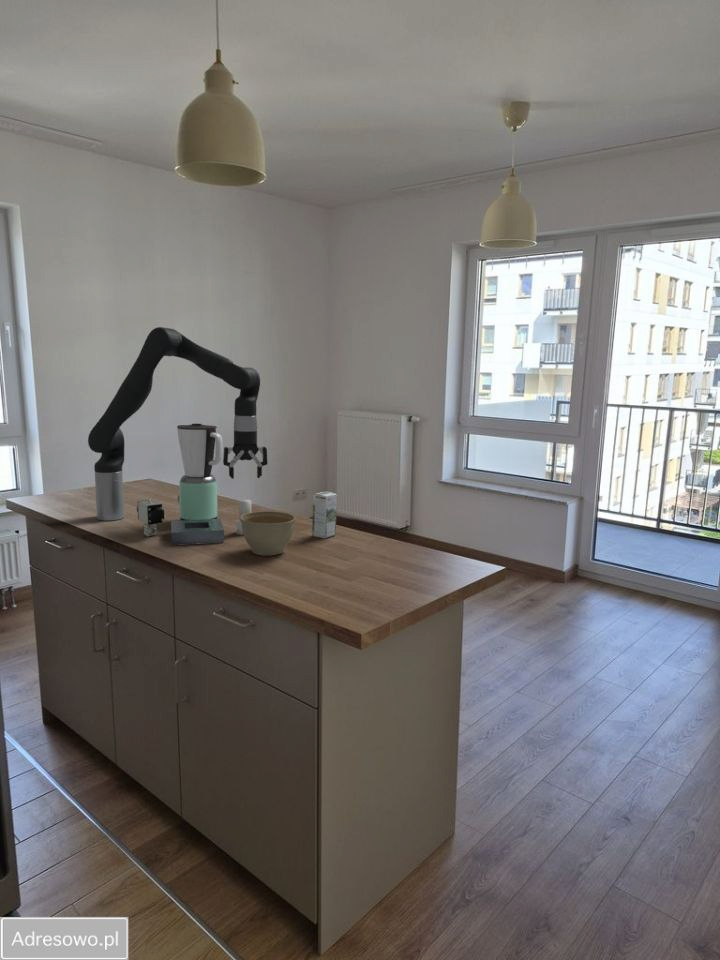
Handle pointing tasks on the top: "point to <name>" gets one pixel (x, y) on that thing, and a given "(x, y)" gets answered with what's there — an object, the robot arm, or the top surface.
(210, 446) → the mint green blender
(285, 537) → the planter bowl
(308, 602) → the top surface
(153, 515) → the pneumatic valve
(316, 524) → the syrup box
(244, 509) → the white stepped cylindrical peg
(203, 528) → the bore block
